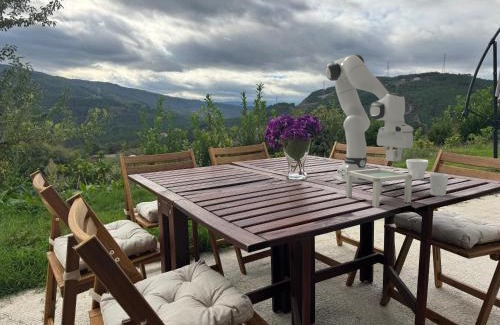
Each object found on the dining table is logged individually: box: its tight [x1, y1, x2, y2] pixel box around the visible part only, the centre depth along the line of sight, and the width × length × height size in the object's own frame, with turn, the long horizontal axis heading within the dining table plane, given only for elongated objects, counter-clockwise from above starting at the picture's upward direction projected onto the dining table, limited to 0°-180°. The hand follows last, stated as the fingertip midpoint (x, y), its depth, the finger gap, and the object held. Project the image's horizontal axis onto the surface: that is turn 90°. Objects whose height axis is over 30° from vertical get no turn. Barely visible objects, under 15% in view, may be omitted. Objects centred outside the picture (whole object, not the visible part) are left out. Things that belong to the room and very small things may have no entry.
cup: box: [405, 158, 429, 180], centre depth 227 cm, size 12×12×11 cm
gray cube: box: [385, 148, 403, 162], centre depth 180 cm, size 5×5×5 cm
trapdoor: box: [358, 171, 397, 181], centre depth 175 cm, size 14×14×3 cm
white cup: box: [429, 172, 449, 197], centre depth 185 cm, size 8×8×10 cm
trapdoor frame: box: [345, 168, 413, 208], centre depth 175 cm, size 21×20×13 cm
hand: (393, 156), depth 180 cm, fingers closed on gray cube, 5 cm apart
